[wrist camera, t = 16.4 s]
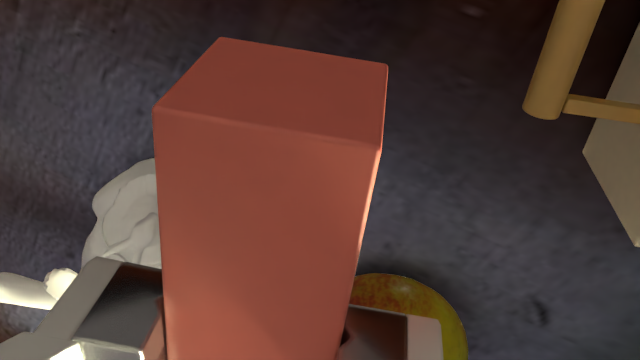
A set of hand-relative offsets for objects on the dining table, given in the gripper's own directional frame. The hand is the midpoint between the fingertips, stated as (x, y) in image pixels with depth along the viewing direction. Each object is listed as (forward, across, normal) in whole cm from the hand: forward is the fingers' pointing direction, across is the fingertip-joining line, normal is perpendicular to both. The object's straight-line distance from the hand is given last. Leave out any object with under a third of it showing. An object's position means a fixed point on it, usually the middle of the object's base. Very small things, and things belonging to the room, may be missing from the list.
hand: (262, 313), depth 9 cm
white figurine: (+20, +11, +14) cm, 26 cm away
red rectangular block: (+2, 0, 0) cm, 2 cm away
